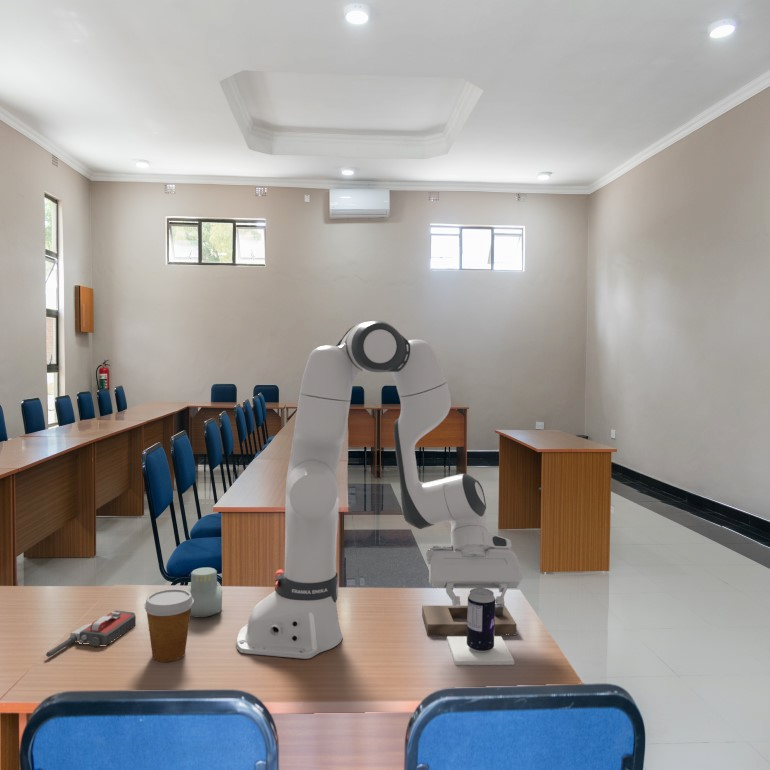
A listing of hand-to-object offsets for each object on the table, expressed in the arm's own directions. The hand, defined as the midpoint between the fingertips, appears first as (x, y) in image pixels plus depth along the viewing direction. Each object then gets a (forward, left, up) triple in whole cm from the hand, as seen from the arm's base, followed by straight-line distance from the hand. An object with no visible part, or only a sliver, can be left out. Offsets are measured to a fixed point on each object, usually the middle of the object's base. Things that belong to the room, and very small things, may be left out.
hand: (478, 606), depth 131 cm
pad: (0, -2, -9) cm, 9 cm away
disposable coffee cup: (-64, -2, -9) cm, 65 cm away
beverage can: (0, -2, -8) cm, 9 cm away
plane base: (0, +11, -9) cm, 14 cm away
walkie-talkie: (-81, +5, -10) cm, 82 cm away
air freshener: (-62, +19, -9) cm, 65 cm away
